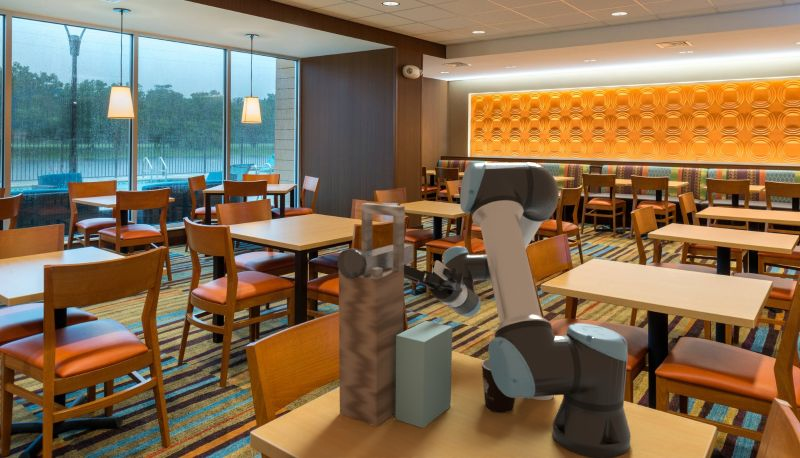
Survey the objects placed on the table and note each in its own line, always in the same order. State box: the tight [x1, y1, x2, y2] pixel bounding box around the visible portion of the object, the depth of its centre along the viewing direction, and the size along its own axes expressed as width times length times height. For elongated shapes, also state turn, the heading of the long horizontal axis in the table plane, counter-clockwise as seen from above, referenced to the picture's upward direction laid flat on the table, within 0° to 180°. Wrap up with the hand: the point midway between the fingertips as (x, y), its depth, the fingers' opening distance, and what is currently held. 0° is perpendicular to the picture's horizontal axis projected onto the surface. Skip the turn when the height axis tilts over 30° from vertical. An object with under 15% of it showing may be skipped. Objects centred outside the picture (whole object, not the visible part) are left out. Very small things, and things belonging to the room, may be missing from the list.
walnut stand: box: [338, 202, 406, 427], centre depth 129 cm, size 10×10×46 cm
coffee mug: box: [481, 358, 516, 414], centre depth 136 cm, size 12×9×10 cm
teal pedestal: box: [394, 320, 453, 429], centre depth 130 cm, size 7×12×19 cm, turn 146°
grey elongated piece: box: [336, 243, 414, 279], centre depth 129 cm, size 6×21×6 cm, turn 146°
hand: (411, 262), depth 141 cm, fingers open, 13 cm apart
